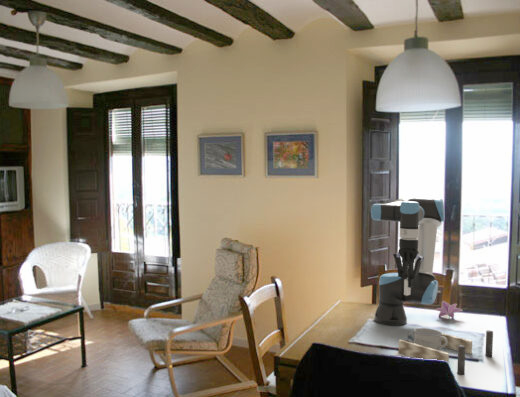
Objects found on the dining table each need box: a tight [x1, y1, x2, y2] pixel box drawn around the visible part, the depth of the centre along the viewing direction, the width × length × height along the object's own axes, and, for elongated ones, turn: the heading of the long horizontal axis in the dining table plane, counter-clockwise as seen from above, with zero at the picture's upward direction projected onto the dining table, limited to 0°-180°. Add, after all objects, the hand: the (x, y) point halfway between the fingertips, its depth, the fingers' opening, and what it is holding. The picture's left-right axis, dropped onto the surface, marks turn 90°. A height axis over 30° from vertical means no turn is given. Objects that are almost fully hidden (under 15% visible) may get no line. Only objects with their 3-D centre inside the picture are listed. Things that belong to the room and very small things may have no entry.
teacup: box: [413, 327, 448, 351], centre depth 196 cm, size 14×11×8 cm
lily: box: [434, 300, 464, 322], centre depth 239 cm, size 12×12×10 cm
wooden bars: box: [397, 329, 494, 376], centre depth 192 cm, size 27×27×10 cm
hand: (407, 294), depth 203 cm, fingers closed
